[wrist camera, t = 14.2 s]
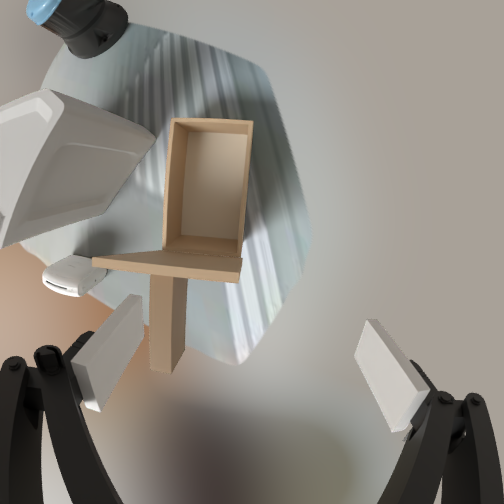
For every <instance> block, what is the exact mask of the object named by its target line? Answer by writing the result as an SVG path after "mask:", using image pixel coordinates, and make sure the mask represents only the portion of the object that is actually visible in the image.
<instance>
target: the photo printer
mask: <svg viewBox="0 0 504 504" xmlns="http://www.w3.org/2000/svg"><path fill="white" fill-rule="evenodd" d="M106 273H107V269H106V268H99V267H92V259H90V258H86V257H82V256H77V255H70V256H68V257H66V258H64V259H62V260H60V261H58V262H56V263H54V264H52V265H51V266H49V267H47V268H46V269H45V270H44V272H43V275H42V277H43V283H44V284H45V285H46V286H47V287H48V288H50V289H52V290H54V291H56V292H58V293H61V294H65V295H69V296H76V297H78V296H83V295H84V294H85V293H87V292H88V291H89V290H90V289H92V288H93V287H94V286H96V285H97V284H98V283H99V282H101V281H102V280H103V279H104V277H105V276H106Z"/></svg>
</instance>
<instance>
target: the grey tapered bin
mask: <svg viewBox="0 0 504 504" xmlns="http://www.w3.org/2000/svg"><path fill="white" fill-rule="evenodd" d="M155 141H156V137H155V136H154V135H153V134H152V133H151V132H149V131H148V130H147V129H146V128H145V127H143V126H141V125H139V124H137V123H134V122H132V121H130V120H127V119H125V118H123V117H120V116H118V115H116V114H113V113H111V112H108V111H106V110H103V109H101V108H98V107H96V106H93V105H91V104H88V103H86V102H83V101H81V100H78V99H75V98H73V97H70V96H67V95H64V94H62V93H59V92H56V91H53V90H50V89H46V88H45V89H41V90H39V91H36V92H33V93H31V94H28V95H26V96H23V97H21V98H18V99H16V100H14V101H11V102H9V103H7V104H5V105H3V106H1V107H0V249H2V248H5V247H7V246H10V245H12V244H15V243H18V242H20V241H23V240H26V239H28V238H31V237H34V236H37V235H40V234H42V233H45V232H48V231H51V230H54V229H57V228H60V227H63V226H66V225H69V224H73V223H76V222H79V221H82V220H86V219H89V218H92V217H96V216H99V215H102V214H104V213H105V211H106V209H107V208H108V206H109V205H110V203H111V202H112V200H113V199H114V197H115V196H116V194H117V193H118V191H119V190H120V188H121V187H122V185H123V184H124V183H125V181H126V180H127V178H128V177H129V176H130V174H131V173H132V171H133V170H134V169H135V167H136V166H137V165H138V163H139V162H140V161H141V159H142V158H143V157H144V156H145V154H146V153H147V152H148V150H149V149H150V148H151V147H152V145H153V144H154V143H155Z"/></svg>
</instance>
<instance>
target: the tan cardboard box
mask: <svg viewBox="0 0 504 504" xmlns="http://www.w3.org/2000/svg"><path fill="white" fill-rule="evenodd" d="M242 259H243V258H238V257H227V256H216V255H205V254H194V253H184V252H173V251H163V250H158V251H148V252H138V253H128V254H118V255H108V256H98V257H92V267H99V268H106V269H114V270H121V271H129V272H137V273H145V274H151V275H150V303H149V342H150V343H149V345H150V370H151V371H156V372H163V373H168V374H172V372H173V370H174V368H175V366H176V365H177V363H178V361H179V359H180V358H181V356H182V354H183V352H184V350H185V325H186V302H187V284H188V278H189V279H199V280H208V281H218V282H229V283H238V282H239V277H240V272H241V267H242Z"/></svg>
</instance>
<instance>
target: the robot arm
mask: <svg viewBox="0 0 504 504" xmlns="http://www.w3.org/2000/svg"><path fill="white" fill-rule="evenodd" d="M26 13H27V16H28V17H29V18H30V19H31V20H32V21H34V22H35V23H36V24H37V25H40V26H42V27H44V28H46V29H47V30H49V31H51V32H52V33H54V34H56V35H58V36H60V37H61V38H63V39H64V41H65V43H66V44H67V45H68V49H69V51H70V52H71V53H72V54H73V55H75V56H77V57H78V58H82V59H88V58H92V57H95V56H97V55H99V54H101V53H103V52H104V51H106V50H107V49H109V48H110V47H111V46H112V45H113V44H114V43H115V42H116V41H117V40H118V39H119V38H120V37H121V35H122V34H123V32H124V30H125V28H126V26H127V23H128V15H127V12H126V11H125V10H124V9H123V7H122V6H120V5H119V4H116V3H113V2H111V1H107V0H29V2H28V5H27V9H26ZM143 338H144V325H143V309H142V296H138V295H133V294H130V295H129V296H128V297H127V298H126V299H125V300H124V301H123V302H122V303H121V304H120V305H119V306H118V307H117V309H116V310H115V311H114V312H113V313H112V314H111V315H110V316H109V318H108V319H107V320H106V321H105V322H104V323H103V324H102V325H101V326H100V327H99V329H98V330H97V331H96V332H92V331H88V332H86V333H84V334H82V335H80V337H79V338H78V339H77V340H76V342H74V343H73V344H72V346H70V348H69V349H68V350H67V351H66V352H65V353H64V354H63V355H62V353H61V350H60V349H59V348H58V347H56V346H53V345H45V346H42V347H40V348H38V349H37V350H36V351H35V352H34V359H35V362H36V365H37V368H35V367H28V366H27V364H26V361H25V360H24V359H23V358H22V357H19V356H12V357H10V358H8V359H7V360H5V361H4V363H3V365H2V368H1V371H0V504H44V502H43V492H42V475H41V440H42V423H43V412H44V411H45V414H46V419H47V424H48V429H49V433H50V437H51V441H52V445H53V448H54V452H55V456H56V459H57V462H58V465H59V469H60V472H61V474H62V477H63V480H64V483H65V485H66V488H67V491H68V493H69V496H70V498H71V501H72V503H73V504H123V502H122V500H121V498H120V497H119V495H118V493H117V491H116V489H115V488H114V486H113V484H112V482H111V480H110V478H109V476H108V474H107V472H106V470H105V468H104V466H103V464H102V462H101V459H100V457H99V455H98V452H97V450H96V448H95V445H94V443H93V440H92V438H91V435H90V433H89V430H88V428H87V425H86V422H85V419H84V416H83V413H82V410H81V408H80V403H81V401H82V400H84V403H85V405H86V407H87V408H89V409H92V410H95V411H98V412H101V411H102V409H103V407H104V405H105V404H106V402H107V400H108V398H109V396H110V394H111V393H112V391H113V389H114V387H115V386H116V384H117V382H118V380H119V378H120V377H121V375H122V373H123V372H124V370H125V368H126V366H127V365H128V363H129V361H130V360H131V358H132V356H133V354H134V353H135V351H136V349H137V348H138V346H139V344H140V343H141V341H142V339H143ZM354 357H355V359H356V361H357V363H358V365H359V367H360V369H361V371H362V373H363V375H364V377H365V379H366V381H367V382H368V385H369V386H370V388H371V391H372V393H373V395H374V397H375V398H376V401H377V403H378V405H379V407H380V409H381V411H382V413H383V415H384V417H385V419H386V421H387V423H388V425H389V427H390V429H391V432H396V431H401V430H405V428H406V427H407V425H408V424H409V423H410V422H411V424H412V426H413V427H412V429H411V430H410V432H409V433H408V434H407V435H406V437H405V438H404V440H403V441H405V440H406V439H407V440H406V443H405V445H404V448H403V450H402V453H401V455H400V457H399V460H398V462H397V464H396V467H395V469H394V471H393V473H392V476H391V478H390V480H389V482H388V484H387V486H386V488H385V490H384V492H383V494H382V496H381V498H380V499H379V501H378V503H377V504H433V503H434V501H435V498H436V494H437V491H438V488H439V485H440V481H441V478H442V498H441V504H504V494H503V484H502V475H501V468H500V462H499V456H498V451H497V446H496V441H495V437H494V432H493V428H492V424H491V420H490V417H489V413H488V410H487V407H486V403H485V401H484V399H483V398H482V397H481V395H479V394H476V393H469V394H468V395H467V396H466V398H465V399H464V401H463V400H455V399H454V397H453V396H452V395H451V394H449V393H447V392H444V391H437V389H436V388H435V386H434V385H433V384H432V382H431V381H430V379H429V378H428V377H426V374H425V373H424V372H423V370H422V369H421V368H420V366H419V365H418V364H417V363H415V362H414V361H413V360H409V359H408V358H407V357H406V356H405V354H404V353H403V352H402V350H401V349H400V348H399V347H398V345H397V344H396V343H395V341H394V340H393V339H392V337H391V336H390V335H389V334H388V332H387V331H386V330H385V329H384V327H383V326H382V325H381V323H380V322H379V321H378V320H376V319H367V320H366V323H365V326H364V329H363V332H362V335H361V338H360V341H359V344H358V346H357V349H356V352H355V355H354ZM465 432H466V435H465V434H464V433H465Z"/></svg>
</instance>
